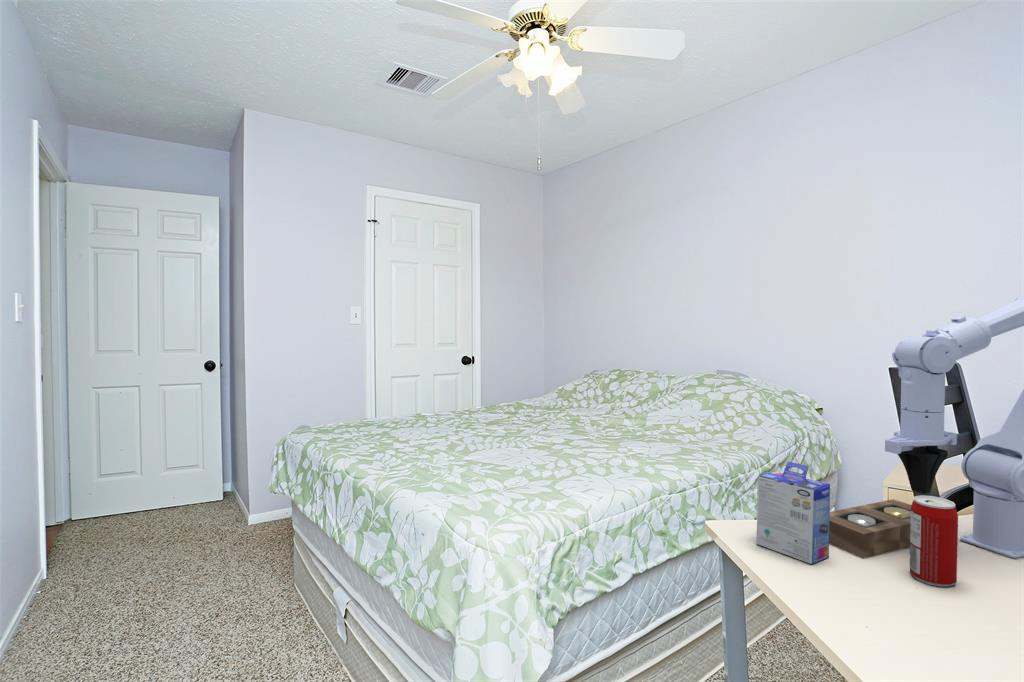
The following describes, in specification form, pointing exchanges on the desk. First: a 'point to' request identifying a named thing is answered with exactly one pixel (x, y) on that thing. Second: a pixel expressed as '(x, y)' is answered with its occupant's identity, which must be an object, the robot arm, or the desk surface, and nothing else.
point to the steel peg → (861, 519)
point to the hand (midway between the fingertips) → (920, 491)
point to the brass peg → (897, 512)
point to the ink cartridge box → (793, 514)
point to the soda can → (934, 540)
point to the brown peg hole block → (870, 529)
